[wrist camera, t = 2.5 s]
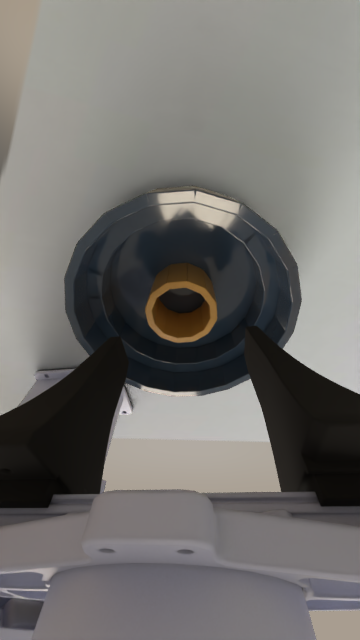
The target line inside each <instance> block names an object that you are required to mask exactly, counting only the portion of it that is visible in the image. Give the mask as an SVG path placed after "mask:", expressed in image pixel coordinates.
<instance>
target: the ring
mask: <svg viewBox="0 0 360 640" xmlns="http://www.w3.org/2000/svg"><path fill="white" fill-rule="evenodd" d="M177 288H188V289H191V290H193V291H196V292H198V293H200V294H201V295H202V296H203V297H204V299H205V300H204V302H203V304H202V306H201V307H199V308H197V309H196V310H194V311H193V312H191V313H176V312H174V311H171V310H168V309H167V308H166V307H165V306H164V305H163V303H162V302H161V301H160V299H159V296H160V295H162V294H163V293H165V292H166V291H168V290H169V289H177ZM145 313H146V317H147V321H148V325H149V326H150V327H151V328H152V329H153V330H154V331H155V332H156V333H157V334H158V335H159V336H161V338H164V339H167V340H170V341H172V342H175V343H176V342H177V343H182V342H193V341H196V340H198V339H199V338H201V337H203V336H205V335H207V334H208V333H209V332H210V330H211V329H212V327H213V325H214V324H215V322H216V321H217V302H216V298H215V294H214V289H213V285H212V281H211V280H210V279H209V277H208V276H207V274H206V273H205V272H204V270H202V269H201V268H199V267H196V266H194V265H192V264H189V263H179V264H171V265H169V266H167V267H166V268H165V269H163V270H162V271H161V272H159V273H158V274H157V275H156V278H155V281H154V283H153V286H152V288H151V291H150V294H149V298H148V301H147V304H146V307H145Z"/></svg>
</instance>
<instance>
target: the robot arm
mask: <svg viewBox="0 0 360 640" xmlns="http://www.w3.org/2000/svg"><path fill="white" fill-rule="evenodd" d="M244 356H245V360H246V365H247V369H248V372H249V375H250V378H251V381H252V383H253V386H254V389H255V391H256V394H257V397H258V399H259V402H260V405H261V408H262V411H263V415H264V419H265V422H266V426H267V430H268V434H269V438H270V443H271V447H272V451H273V455H274V460H275V464H276V468H277V473H278V478H279V483H280V487H281V492H245V493H199V492H196V491H190V490H115V491H107V492H104V489H105V485H106V481H105V480H102V475H103V469H104V463H105V460H106V456H107V453H108V449H109V446H110V442H111V439H112V436H113V432H114V429H115V426H116V422H117V419H118V415H127V414H132V412H133V409H132V406H131V403H130V400H129V398H128V395H127V392H126V390H125V387H124V383H125V380H126V376H127V371H128V365H129V361H128V358H127V355H126V352H125V348H124V345H123V342H122V339H121V336H117V337H110V338H109V339H108V340H107V341H105V342H104V343H103V344H102V345H101V346H100V347H99V348H98V349H97V350H96V351H95V352H94V353H93V354H92V355H91V356H90V357H88V358H87V359H86V360H85V361H84V362H83V363H82V364H80V365H79V366H78V367H77V368H76V369H63V370H48V371H37V372H35V374H34V377H35V379H36V380H37V381H36V382H35V384H34V385H33V386H32V388H31V389H30V390H29V392H28V393H27V395H26V396H25V397H24V399H23V400H22V401H21V403H20V404H19V405H18V407H17V408H15V409H13V410H11V411H9V412H7V413H5V414H3V415H1V416H0V640H316V636H315V633H314V629H313V625H312V622H311V618H310V614H309V611H340V610H341V611H345V610H360V394H358V393H355V392H353V391H351V390H349V389H347V388H345V387H342V386H340V385H338V384H336V383H334V382H332V381H331V380H329V379H327V378H325V377H323V376H321V375H320V374H318V373H316V372H314V371H313V370H311V369H310V368H308V367H307V366H305V365H303V364H302V363H300V362H299V361H297V360H296V359H295V358H293V357H292V356H291V355H289V354H288V353H287V352H285V351H284V350H283V349H282V348H281V347H280V346H278V345H277V344H276V343H275V342H274V341H273V340H272V339H270V338H269V337H268V336H267V335H266V334H265V333H264V332H263V331H262V330H261V329H260V328H259V327H258V326H248V327H246V329H245V349H244Z"/></svg>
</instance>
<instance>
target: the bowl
mask: <svg viewBox="0 0 360 640" xmlns="http://www.w3.org/2000/svg"><path fill="white" fill-rule="evenodd" d="M179 263H189V264H192V265H194V266H196V267H199V268H201V269H202V270H204V272H205V273H206V274H207V276H208V277H209V279H210V280H211V281H212V285H213V289H214V294H215V298H216V302H217V321H216V322H215V324H214V325H213V327H212V329H211V330H210V332H209V333H208V334H207V335H205V336H203V337H201V338H199V339H198V340H196V341H193V342H182V343H177V342H176V343H175V342H172V341H170V340H167V339H164V338H161V336H159V335H158V334H157V333H156V332H155V331H154V330H153V329H152V328H151V327H150V326H149V325H148V321H147V317H146V313H145V307H146V304H147V301H148V298H149V294H150V291H151V288H152V286H153V283H154V281H155V278H156V275H157V274H158V273H159V272H161V271H162V270H163V269H165V268H166V267H167V266H169V265H171V264H179ZM64 283H65V310H66V314H67V316H68V319H69V321H70V324H71V327H72V329H73V332H74V334H75V337H76V339H77V340H78V342H79V343H80V344H81V345H82V347H83V348H84V349H85V350H86V352H87V353H88V354H89V355H90V356H91V355H92V354H93V353H94V352H95V351H96V350H97V349H98V348H99V347H100V346H101V345H102V344H103V343H104V342H105V341H107V340H108V339H109V338H110V337H117V336H121V339H122V342H123V345H124V348H125V352H126V355H127V358H128V361H129V365H128V371H127V376H126V380H125V383H127V384H129V385H132V386H134V387H137V388H139V389H141V390H144V391H147V392H153V393H158V394H163V395H168V396H202V395H206V394H211V393H215V392H219V391H223V390H228V389H230V388H232V387H234V386H236V385H238V384H240V383H242V382H244V381H246V380H249V379H251V378H250V375H249V372H248V369H247V365H246V360H245V356H244V349H245V329H246V327H248V326H258V327H259V328H260V329H261V330H262V331H263V332H264V333H265V334H266V335H267V336H268V337H269V338H270V339H272V340H273V341H274V342H275V343H276V344H277V345H278V346H280V347H281V348H282V349H283V348H284V346H285V344H286V343H287V341H288V340H289V338H290V337H291V335H292V334H293V332H294V329H295V325H296V321H297V317H298V313H299V309H300V306H301V302H302V301H301V300H302V298H301V290H300V282H299V274H298V266H297V263H296V262H295V260H294V258H293V256H292V255H291V253H290V251H289V249H288V248H287V246H286V244H285V242H284V241H283V239H282V237H281V235H280V233H279V232H278V231H277V229H275V228H274V227H273V226H272V225H270V224H269V223H268V222H266V221H265V220H264V219H263V218H261V217H260V216H259V215H257V214H256V213H255V212H254V211H252V210H251V209H250V208H248V207H247V206H246V205H245V204H243V203H241V202H239V201H237V200H235V199H233V198H231V197H229V196H227V195H224V194H220V193H217V192H213V191H210V190H207V189H203V188H200V187H197V186H182V187H169V188H157V189H155V190H152V191H150V192H147V193H145V194H143V195H140V196H138V197H136V198H134V199H132V200H130V201H128V202H126V203H124V204H122V205H119V206H117V207H115V208H113V209H111V210H109V211H107V212H106V213H104V214H103V215H102V216H101V217H100V218H99V219H98V220H97V222H96V223H95V224H94V225H93V226H92V227H91V228H90V229H89V230H88V231H87V232H86V234H85V235H84V236H83V237H82V238H81V239H80V240H79V241H78V243H77V244H76V247H75V249H74V252H73V255H72V258H71V260H70V263H69V266H68V269H67V271H66V274H65V278H64ZM159 299H160V301H161V302H162V303H163V305H164V306H165V307H166V308H167V309H168V310H171V311H174V312H176V313H191V312H193V311H194V310H196V309H197V308H199V307H201V306H202V304H203V302H204V300H205V299H204V297H203V296H202V295H201V294H200V293H198V292H196V291H193V290H191V289H188V288H177V289H169V290H168V291H166V292H165V293H163V294H162V295H160V296H159Z"/></svg>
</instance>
